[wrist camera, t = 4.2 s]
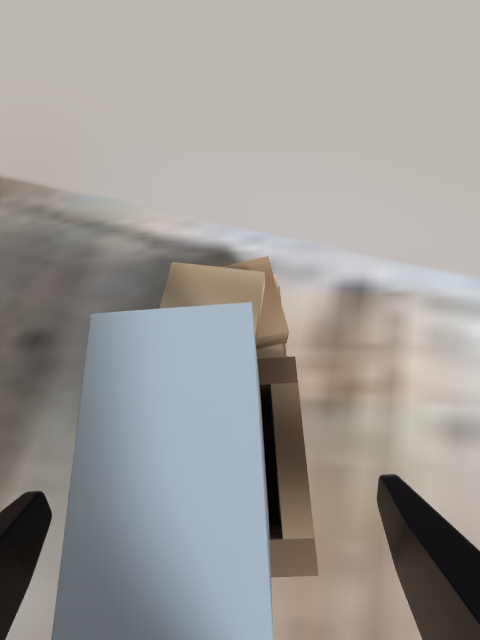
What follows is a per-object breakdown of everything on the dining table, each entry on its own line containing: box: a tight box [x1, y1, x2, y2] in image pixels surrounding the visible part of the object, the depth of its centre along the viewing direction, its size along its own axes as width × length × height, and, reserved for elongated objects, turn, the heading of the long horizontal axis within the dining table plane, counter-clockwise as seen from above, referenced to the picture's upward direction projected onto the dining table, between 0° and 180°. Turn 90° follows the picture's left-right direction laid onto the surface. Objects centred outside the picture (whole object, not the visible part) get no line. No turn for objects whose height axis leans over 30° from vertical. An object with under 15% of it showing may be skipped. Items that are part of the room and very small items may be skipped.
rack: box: [257, 287, 318, 577], centre depth 17 cm, size 13×6×4 cm, turn 3°
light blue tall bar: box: [51, 302, 273, 640], centre depth 12 cm, size 5×3×14 cm, turn 3°
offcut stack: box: [159, 256, 289, 359], centre depth 17 cm, size 5×6×5 cm
